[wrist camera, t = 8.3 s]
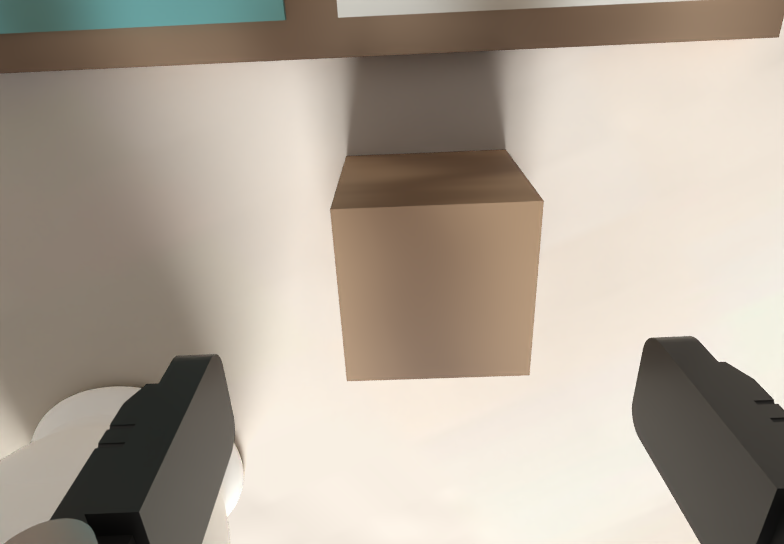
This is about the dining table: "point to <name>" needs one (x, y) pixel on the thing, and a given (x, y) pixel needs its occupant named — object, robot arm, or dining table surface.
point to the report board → (348, 28)
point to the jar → (82, 464)
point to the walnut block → (436, 265)
